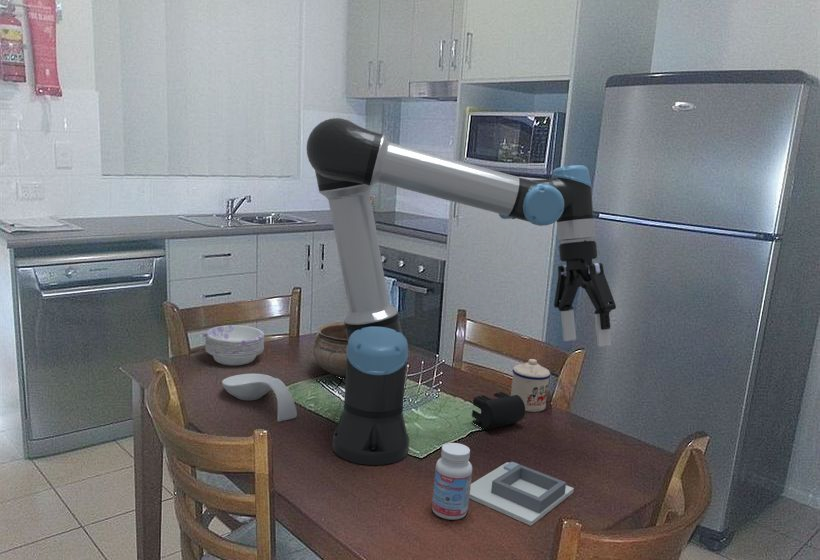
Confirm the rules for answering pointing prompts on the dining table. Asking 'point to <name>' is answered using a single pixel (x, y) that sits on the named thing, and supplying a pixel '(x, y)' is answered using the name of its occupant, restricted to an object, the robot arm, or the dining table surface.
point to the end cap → (498, 410)
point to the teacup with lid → (531, 385)
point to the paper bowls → (234, 344)
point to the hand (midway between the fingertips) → (586, 343)
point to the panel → (519, 492)
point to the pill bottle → (452, 482)
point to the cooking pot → (332, 348)
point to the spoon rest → (262, 391)
